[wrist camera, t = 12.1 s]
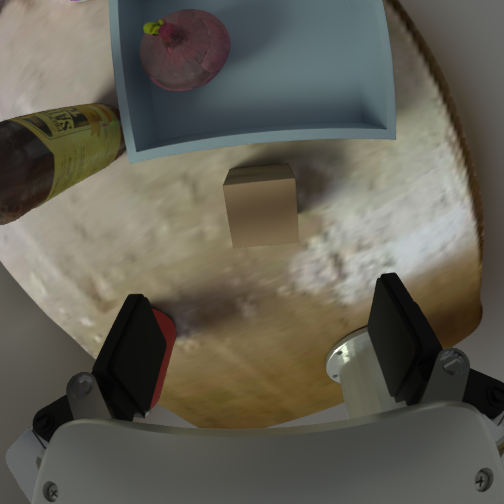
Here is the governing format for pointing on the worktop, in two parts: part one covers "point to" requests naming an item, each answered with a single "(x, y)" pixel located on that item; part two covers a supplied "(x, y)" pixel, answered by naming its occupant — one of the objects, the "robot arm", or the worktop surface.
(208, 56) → the vegetable
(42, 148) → the sauce bottle
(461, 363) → the robot arm
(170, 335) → the beer can
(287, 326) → the worktop surface
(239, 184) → the walnut cube
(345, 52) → the tote
